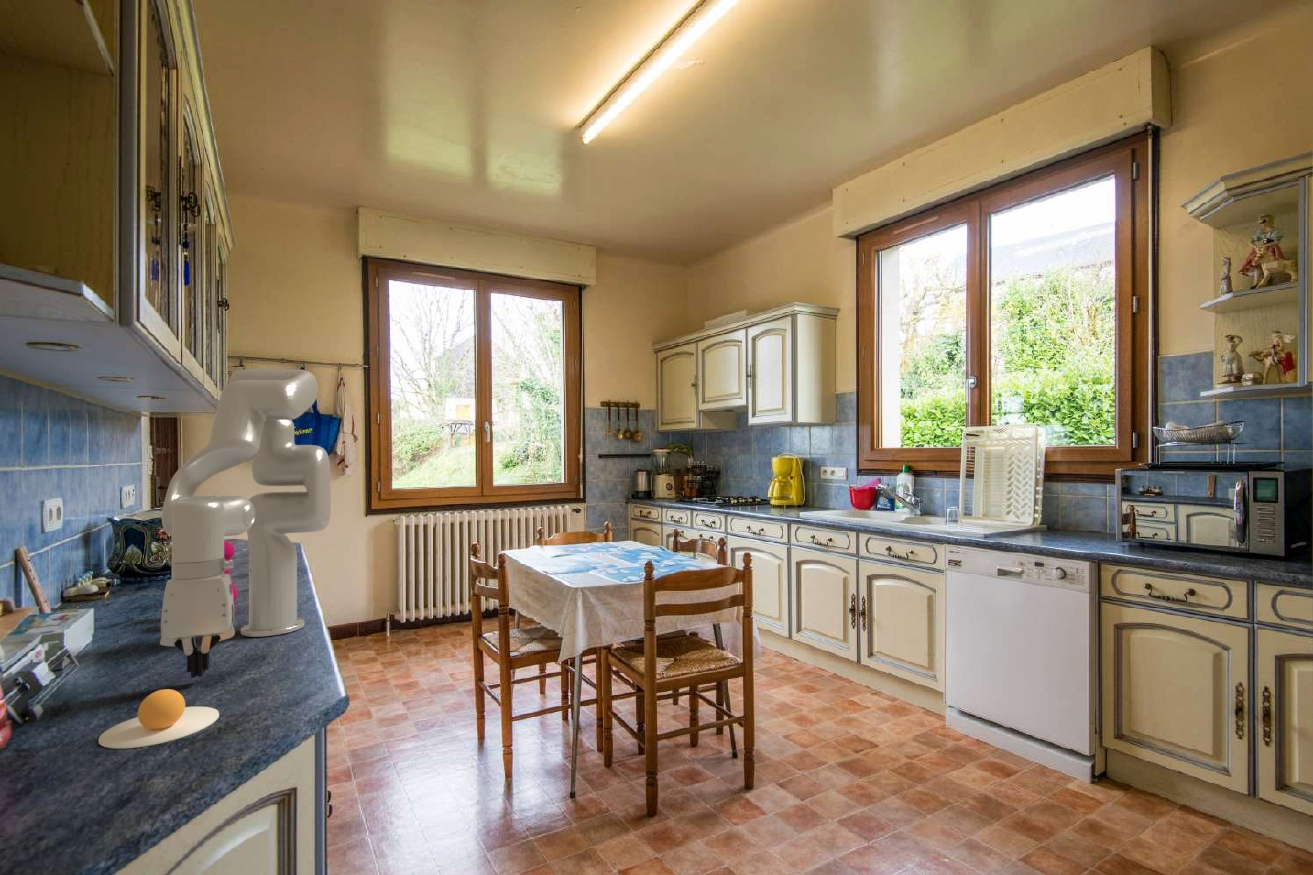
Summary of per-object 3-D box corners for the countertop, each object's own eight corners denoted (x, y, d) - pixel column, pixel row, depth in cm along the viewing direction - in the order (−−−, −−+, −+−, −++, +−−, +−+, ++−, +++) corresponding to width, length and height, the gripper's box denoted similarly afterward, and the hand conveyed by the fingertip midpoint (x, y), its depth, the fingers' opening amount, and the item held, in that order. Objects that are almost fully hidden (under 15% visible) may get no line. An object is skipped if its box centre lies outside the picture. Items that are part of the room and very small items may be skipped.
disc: (117, 718, 97) (117, 717, 97) (226, 701, 103) (226, 700, 103) (82, 757, 84) (82, 755, 84) (209, 735, 90) (209, 733, 90)
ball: (143, 686, 94) (130, 704, 89) (187, 679, 96) (178, 696, 92) (146, 720, 95) (133, 741, 90) (190, 713, 97) (181, 732, 92)
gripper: (251, 563, 118) (251, 662, 118) (151, 570, 112) (151, 675, 112) (245, 569, 112) (245, 674, 111) (138, 578, 105) (138, 689, 105)
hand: (198, 674), depth 111 cm, fingers closed
